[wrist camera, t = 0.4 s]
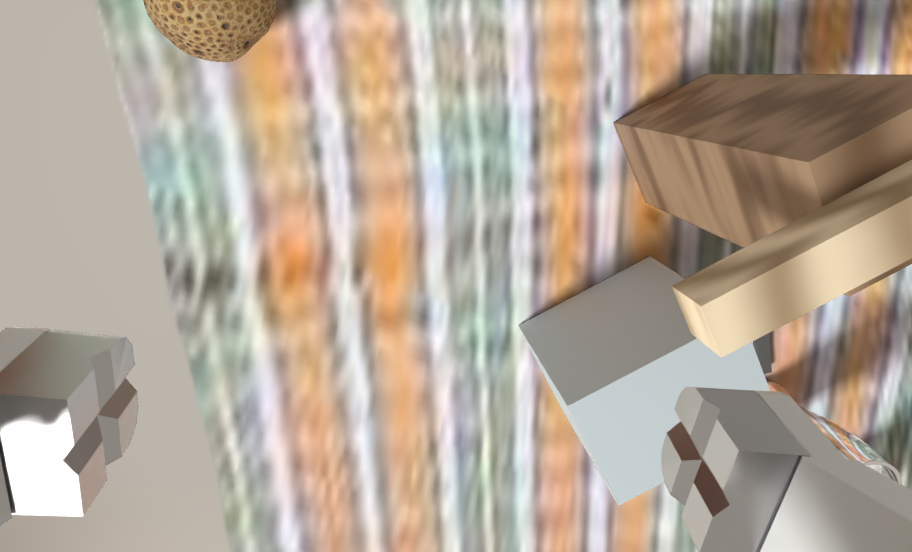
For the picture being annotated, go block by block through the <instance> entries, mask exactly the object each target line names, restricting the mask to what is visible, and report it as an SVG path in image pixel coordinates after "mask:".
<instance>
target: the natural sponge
mask: <svg viewBox="0 0 912 552" xmlns="http://www.w3.org/2000/svg"><path fill="white" fill-rule="evenodd" d="M143 1H144V5H145V8H146V11H147V13H148V15H149V17H150V19H151V20H152V22H153V23H154V25H155V26H156V28H157V29H158V30H159V31H160V32H161V33H162V34H163V35H164V36H165V37H167V38H168V39H169V40H170V41H171V42H172V43H173V44H174V45H176V46H177V47H178V48H179V49H181V50H183V51H184V52H186V53H187V54H189V55H192V56H194V57H197V58H200V59H204V60H209V61H216V62H231V61H234V60H236V59H238V58H240V57H241V56H243V55H244V54H245V53H246V52H247V51H248V50H249V49H250V48H251V47H252V46H253V45H254V44H255V43H256V42H258V41H259V40H260V39H261V37H263V36H264V35H265V34H266V33H267V32H268V30H269V28H270V26H271V24H272V22H273V19H274V15H275V11H276V0H143Z"/></svg>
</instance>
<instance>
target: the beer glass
mask: <svg viewBox="0 0 912 552" xmlns="http://www.w3.org/2000/svg"><path fill="white" fill-rule="evenodd" d="M767 384H768V387H769V389H770V391H778V392H782V393H784V394H787V395H789V396H790V394H789V393H788V392H787V391H786V390H785V389H784V388H783V387H782V386H781V385H779V384H777V383H775V382H771V381H767ZM790 397H791V396H790ZM791 398H792V397H791ZM792 399H793V398H792ZM793 400H794V399H793ZM794 401H795V400H794ZM795 403H796V404H797V405H798V406H799V407H800V408H801V409H802V410H803V411H804V413H805V414H806V415H807V416H808V417H809V418H810V419H811V420H812V421H813V422H814V424H815V425H816V426H817V427H818V428H819V429H820V430H821V431H822V432H823V433H824V435H825V436H826V437H827V438H828V439H829V440H830V441H831V442H832V443H833V445H834V446H835V447H836V448H837V449H838V450H839V451H840V452H841V453H842V454H843V456H844V457H845V458H846V459H847V460H855V461H859V462H861V463H863V464H864V465H866V466H868V467H870V468H872V469H874V470H875V471H877V472H879V473H881V474H883V475H884V476H886V477H888V478H890V479H892V480H894V481H895V482H897V483H899V484H901V485H902V480H901V476H900V474H899V472H898V471H897V469H896V468H895V467H894V466H892V465H891V464H889V463H888V462H887V461H886V460H885V459H884V458H883V457H881V456H880V455H879V454H878V453H877V452H876V451H875V450H874V449H872V448H871V447H870V446H869V445H868V444H866V443H865V442H864V441H863V440H861V439H860V438H859V437H857V436H856V435H854V434H853V433H851V432H850V431H849V430H847V429H845V428H844V427H842V426H840V425H838V424H836V423H835V422H833V421H831V420H829V419H827V418H824V417H822V416H820V415H818V414H816V413H814V412H812V411H810V410H808V409H806V408H804V407H802V406H801V405H799V404H798V403H797V402H796V401H795Z"/></svg>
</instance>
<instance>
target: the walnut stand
mask: <svg viewBox="0 0 912 552" xmlns="http://www.w3.org/2000/svg"><path fill="white" fill-rule="evenodd" d="M614 126H615V128H616V131H617V133H618V136H619V138H620V141H621V143H622V146H623V148H624V150H625V153H626V155H627V158H628V160H629V163H630V165H631V168H632V170H633V173H634V175H635V178H636V180H637V183H638V185H639V188H640V190H641V193H642V195H643V197H644V200H645V202H646V203H648V204H650V205H652V206H654V207H657V208H659V209H661V210H663V211H665V212H667V213H670V214H672V215H674V216H676V217H678V218H680V219H682V220H685V221H687V222H689V223H691V224H693V225H695V226H698V227H700V228H702V229H704V230H706V231H708V232H711V233H713V234H715V235H717V236H719V237H721V238H724V239H726V240H728V241H730V242H732V243H734V244H737V245H739V246H741V247H743V248H745V247H746V246H748V245H750V244H752V243H754V242H756V241H758V240H760V239H762V238H764V237H765V236H767V235H769V234H771V233H773V232H775V231H777V230H779V229H781V228H783V227H784V226H786V225H788V224H790V223H792V222H794V221H796V220H798V219H800V218H802V217H804V216H805V215H807V214H809V213H811V212H813V211H815V210H817V209H819V208H821V207H823V206H824V205H826V204H828V203H830V202H832V201H834V200H836V199H838V198H840V197H842V196H843V195H845V194H847V193H849V192H851V191H853V190H855V189H857V188H859V187H861V186H862V185H864V184H866V183H868V182H870V181H872V180H874V179H876V178H878V177H880V176H882V175H883V174H885V173H887V172H889V171H891V170H893V169H895V168H897V167H899V166H901V165H902V164H904V163H906V162H908V161H910V160H912V75H847V74H704V75H702V76H700V77H698V78H697V79H695V80H693V81H691V82H689V83H687V84H685V85H683V86H682V87H680V88H678V89H676V90H674V91H672V92H670V93H668V94H667V95H665V96H663V97H661V98H659V99H657V100H655V101H653V102H652V103H650V104H648V105H646V106H644V107H642V108H640V109H638V110H637V111H635V112H633V113H631V114H629V115H627V116H625V117H623V118H622V119H620V120H618V121H616V122H614ZM910 264H912V258H911V259H910V260H908V261H906V262H904V263H902V264H900V265H898V266H896V267H894V268H892V269H890V270H888V271H887V272H885V273H883V274H881V275H879V276H877V277H875V278H873V279H871V280H869V281H867V282H865V283H864V284H862V285H860V286H858V287H856V288H854V289H852V290H850V291H848V292H846V293H844V294H845V295H847V296H851V295H853V294H855V293H857V292H859V291H861V290H863V289H864V288H866V287H868V286H870V285H872V284H874V283H876V282H878V281H880V280H882V279H884V278H886V277H887V276H889V275H891V274H893V273H895V272H897V271H899V270H901V269H903V268H905V267H907V266H909V265H910Z"/></svg>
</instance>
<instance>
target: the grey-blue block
mask: <svg viewBox="0 0 912 552" xmlns="http://www.w3.org/2000/svg"><path fill="white" fill-rule="evenodd" d="M684 279H685V278H683V277H682V276H680V275H679V274H677V273H676V272H674V271H673V270H671V269H669V268H668V267H666V266H665V265H663V264H662V263H660V262H659V261H657V260H655V259H654V258H652V257H651V256H649V257H647V258H645V259H643V260H641V261H640V262H638V263H636V264H634V265H632V266H630V267H628V268H626V269H624V270H623V271H621V272H619V273H617V274H615V275H613V276H611V277H609V278H607V279H605V280H604V281H602V282H600V283H598V284H596V285H594V286H592V287H590V288H588V289H586V290H585V291H583V292H581V293H579V294H577V295H575V296H573V297H571V298H569V299H568V300H566V301H564V302H562V303H560V304H558V305H556V306H554V307H552V308H550V309H549V310H547V311H545V312H543V313H541V314H539V315H537V316H535V317H533V318H531V319H530V320H528V321H526V322H524V323H522V324H520V325H518V326H519V328H520V330H521V332H522V334H523V336H524V337H525V339H526V341H527V343H528V345H529V347H530V349H531V351H532V353H533V355H534V357H535V359H536V361H537V363H538V365H539V366H540V368H541V370H542V372H543V374H544V376H545V378H546V380H547V382H548V384H549V386H550V388H551V390H552V392H553V394H554V395H555V397H556V399H557V401H558V403H559V405H560V407H561V409H562V410H563V412H564V414H565V415H566V417H567V419H568V421H569V422H570V424H571V426H572V427H573V429H574V431H575V432H576V434H577V436H578V438H579V439H580V441H581V443H582V444H583V446H584V448H585V449H586V451H587V453H588V455H589V456H590V458H591V460H592V461H593V463H594V465H595V467H596V468H597V470H598V472H599V473H600V475H601V477H602V478H603V480H604V482H605V484H606V485H607V487H608V489H609V490H610V492H611V494H612V495H613V497H614V499H615V501H616V502H617V504H618V506H619V505H621V504H623V503H624V502H626V501H628V500H630V499H632V498H634V497H636V496H638V495H640V494H642V493H644V492H646V491H648V490H650V489H652V488H653V487H655V486H657V485H659V484H661V483H663V482H664V478H663V474H662V469H661V453H662V447H663V444H664V440H665V437H666V433H667V432H668V431H669V430H671V429H672V428H673V427H674V426H675V425H677V424H678V423H679V422H680V420H679V418H678V416H677V414H676V411H675V406H676V403H677V400H678V397H679V395H680V393H681V392H682V391H683V389H684V388H685V387H702V388H719V389H736V390H757V391H770V389H769V387H768V384H767V381H766V378H765V376H764V373H763V370H762V368H761V365H760V362H759V360H758V357H757V354H756V352H755V349H754V346H753V344H752V342H751V343H749V344H747V345H745V346H743V347H741V348H739V349H737V350H735V351H733V352H731V353H729V354H728V355H726V356H724V357H722V358H721V357H720V356H719V355H717V354H716V353H715V352H714V351H712V350H711V349H710V348H709V347H707V346H706V345H705V344H704V343H702V342H701V341H700V340H699V339H697V338H696V337H695V336H694V335H692V334H691V332H690V330H689V327H688V325H687V323H686V320H685V318H684V315H683V313H682V310H681V308H680V305H679V303H678V301H677V298H676V296H675V293H674V291H673V288H672V285H674V284H676V283H678V282H680V281H682V280H684Z"/></svg>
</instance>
